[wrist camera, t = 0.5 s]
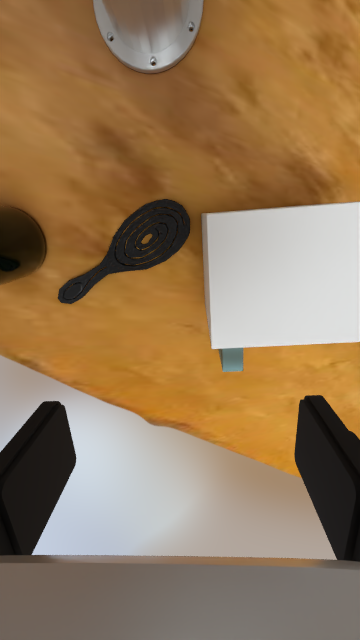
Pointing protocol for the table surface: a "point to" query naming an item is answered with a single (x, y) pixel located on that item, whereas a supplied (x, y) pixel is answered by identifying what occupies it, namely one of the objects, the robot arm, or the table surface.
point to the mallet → (231, 359)
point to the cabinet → (282, 275)
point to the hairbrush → (131, 251)
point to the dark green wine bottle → (19, 245)
